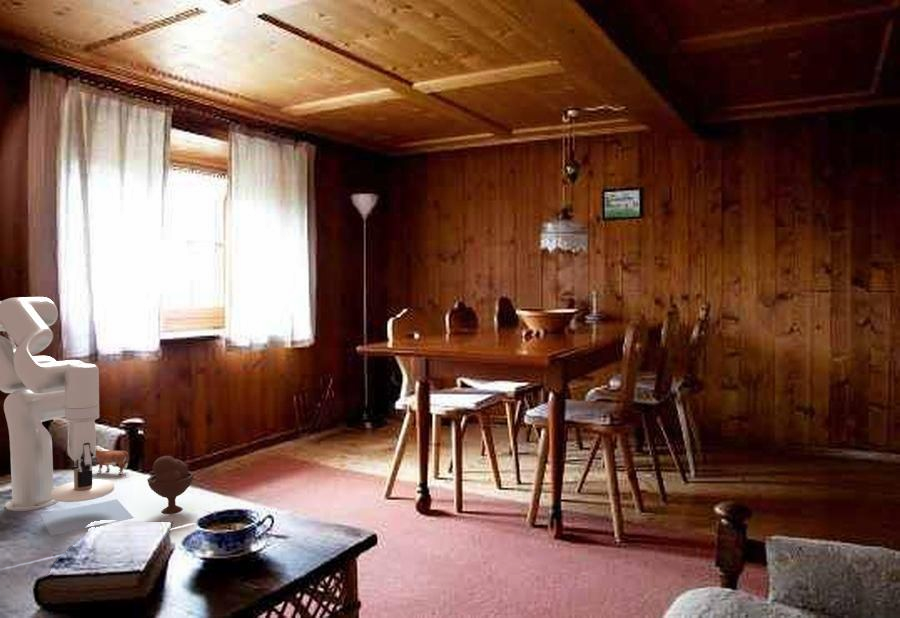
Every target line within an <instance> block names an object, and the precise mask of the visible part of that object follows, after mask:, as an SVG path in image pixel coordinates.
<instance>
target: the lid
mask: <svg viewBox="0 0 900 618" xmlns="http://www.w3.org/2000/svg"><path fill="white" fill-rule="evenodd" d="M77 472H79V468H76V469H74V468H73V481H70V482H67V483H64V484H61V485H59V486H56V487H55V488H54V489H53V490H52V491H51V498H52V499H54V500H56V501H58V502H63V503H76V502H78V503H79V502H85V501H90V500H95V499H99V498H100V499H101V498H102V497H106V496H108V495H109V494H111V493H112V492H113V491H114V490H115V484H114V482H113V481H110V480H108V479H107V480H106V479H100V478H99V479H95V478H94V479H93V478H92V485H91V486H87V487H81V488H79V487H78V474H77Z"/></svg>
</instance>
